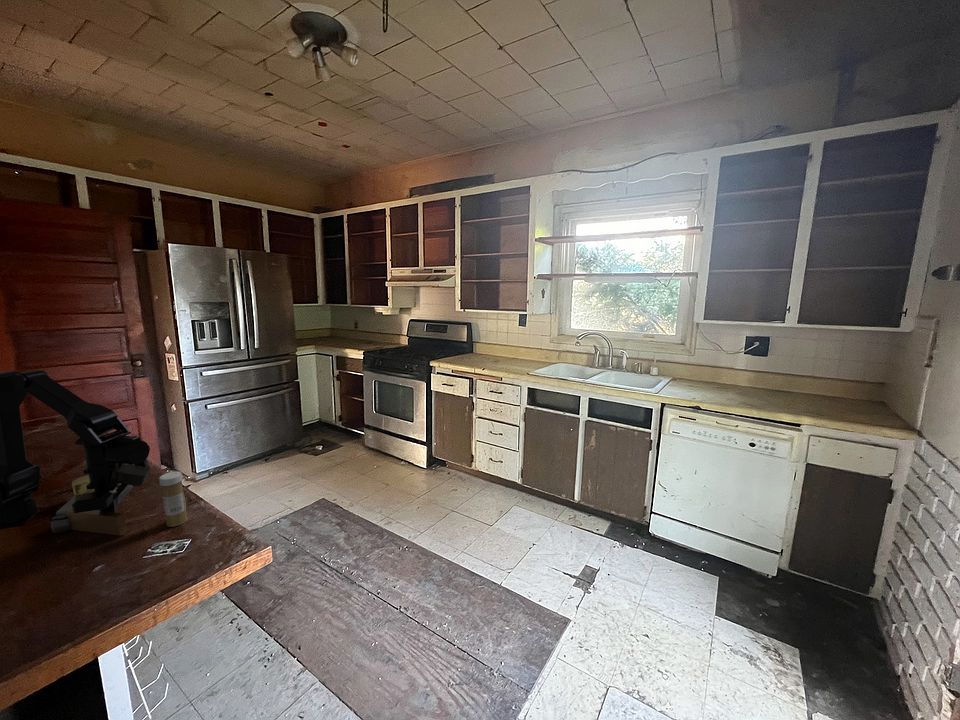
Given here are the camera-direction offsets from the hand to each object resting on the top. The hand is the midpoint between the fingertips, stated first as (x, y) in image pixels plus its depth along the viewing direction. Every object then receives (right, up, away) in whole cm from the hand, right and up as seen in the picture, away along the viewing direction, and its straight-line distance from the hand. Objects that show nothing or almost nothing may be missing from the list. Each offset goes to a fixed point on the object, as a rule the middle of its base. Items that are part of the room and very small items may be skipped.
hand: (112, 516), depth 101 cm
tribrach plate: (-15, 0, +11) cm, 19 cm away
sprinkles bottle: (+15, -3, +2) cm, 15 cm away
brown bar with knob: (-4, -3, -2) cm, 5 cm away
